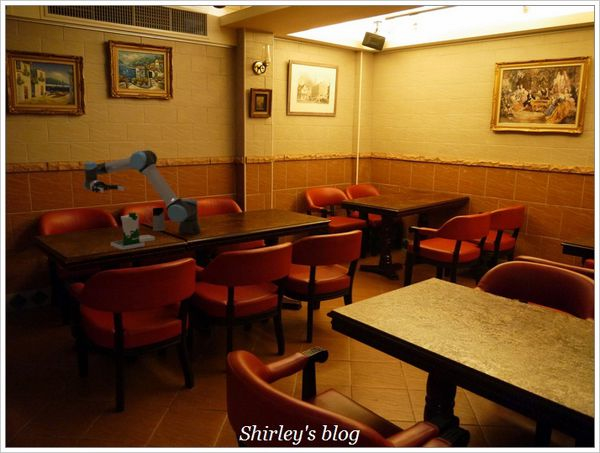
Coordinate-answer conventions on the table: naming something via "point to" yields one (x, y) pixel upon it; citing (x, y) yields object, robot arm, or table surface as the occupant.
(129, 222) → the milk carton
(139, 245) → the shallow grey tray
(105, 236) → the table surface
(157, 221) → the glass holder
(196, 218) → the robot arm
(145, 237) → the small square white tray
